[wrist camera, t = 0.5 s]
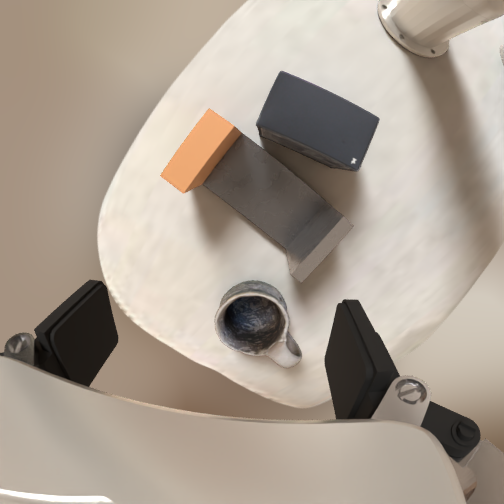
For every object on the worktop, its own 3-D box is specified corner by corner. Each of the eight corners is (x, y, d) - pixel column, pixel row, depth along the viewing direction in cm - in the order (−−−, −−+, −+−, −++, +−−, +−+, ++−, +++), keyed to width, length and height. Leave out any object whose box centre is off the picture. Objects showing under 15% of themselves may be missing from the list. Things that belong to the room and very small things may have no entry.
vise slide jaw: (222, 118, 30) (209, 108, 23) (241, 132, 31) (234, 126, 23) (183, 170, 32) (159, 175, 25) (202, 184, 33) (183, 193, 26)
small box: (352, 126, 31) (384, 117, 21) (333, 169, 33) (359, 176, 23) (276, 91, 30) (281, 66, 20) (257, 135, 32) (253, 127, 23)
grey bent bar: (224, 120, 32) (209, 108, 23) (332, 207, 35) (353, 225, 26) (187, 169, 34) (161, 175, 25) (293, 251, 37) (301, 282, 28)
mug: (240, 258, 38) (232, 292, 29) (316, 296, 40) (329, 338, 30) (211, 309, 41) (197, 351, 32) (282, 342, 43) (285, 387, 33)
